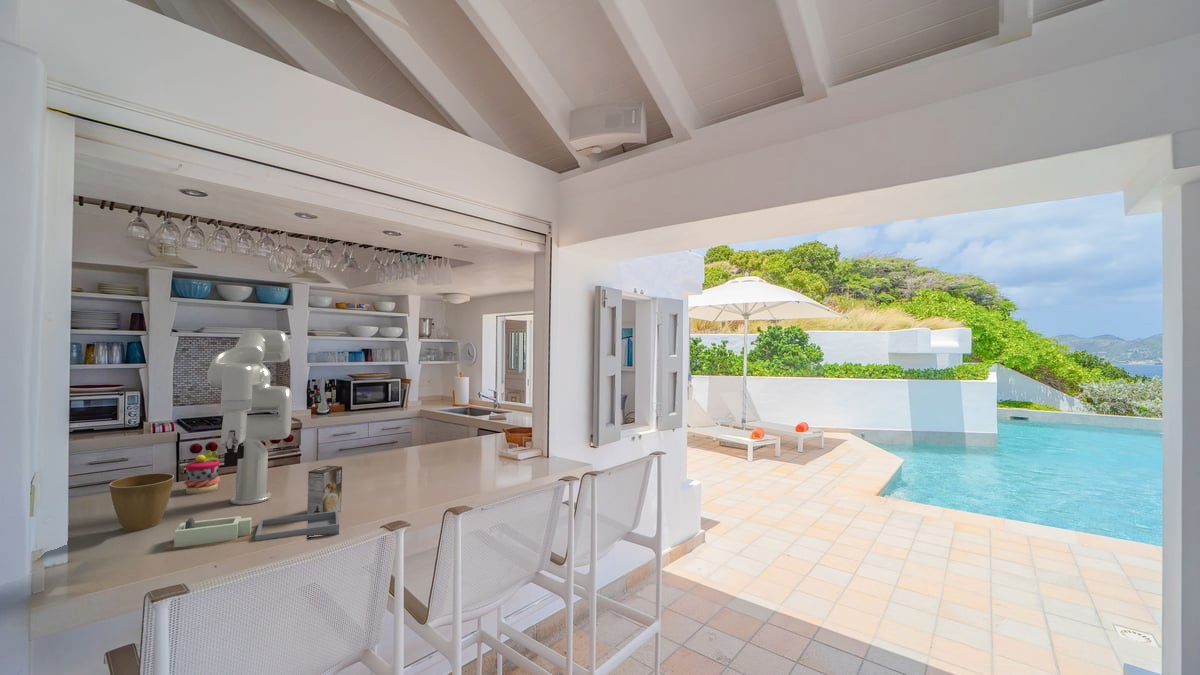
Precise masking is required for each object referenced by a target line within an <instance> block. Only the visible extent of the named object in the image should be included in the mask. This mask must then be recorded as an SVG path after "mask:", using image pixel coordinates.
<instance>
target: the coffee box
mask: <svg viewBox="0 0 1200 675" xmlns="http://www.w3.org/2000/svg"><path fill="white" fill-rule="evenodd" d="M307 475H308V476H307V479H308V481H307V512H306V514H314V513H323V512H331V511H338V513H340V512H342V492H343V491H342V490H343V489H342V488H343V485H342V484H343V483H342V482H343V466H339V465H324V466H322V467H319V468H315V469H311V470H308V474H307Z"/></svg>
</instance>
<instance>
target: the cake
mask: <svg viewBox="0 0 1200 675" xmlns="http://www.w3.org/2000/svg"><path fill="white" fill-rule="evenodd" d="M217 455H218V451H216V450H215V451H211V450H209V449H208V450H206V451H205V452H204V453H203V454H199V455H197V456H196V457H195V460H194V461H191V462H189V463H188V462H187V463H186V465H185V473H186V480H185V482H183V484H184V485H185V494H187V495H201V494H208V493H213V492H215V491H217V490H218V489H219V488H218V485H219V482H220V480H221V478H220V476H219V474H220V471H219V470H220V469H219V468H220V461H219V459H218V457H216V456H217Z"/></svg>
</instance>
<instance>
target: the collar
mask: <svg viewBox="0 0 1200 675" xmlns="http://www.w3.org/2000/svg"><path fill="white" fill-rule="evenodd" d="M252 520H253V517H242V516H241V515H240V516H230V517H222V518H212V519H205V520H204V519H203V520H195V523H194V528H190V529H185V528H186V521H185V522H181V523H180V524H179V525H178V526H177V528H176V529H175V531H174V537H175V539H174V548H175V547H183V546H190V545H198V544H205V543H213V542H220V541H228V540H235V539H237V538H238V536H245V535H250V534H251V527H252Z"/></svg>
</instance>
